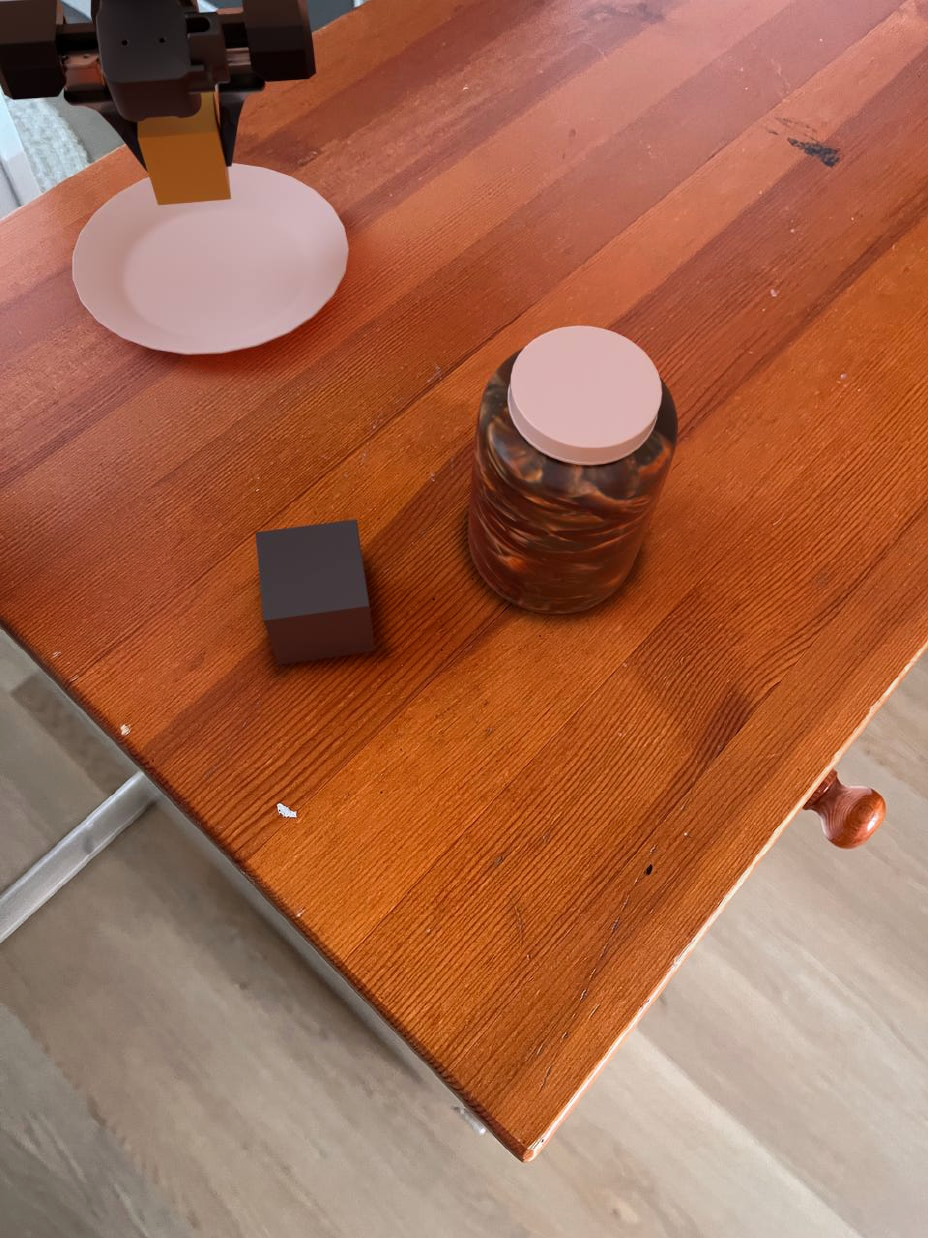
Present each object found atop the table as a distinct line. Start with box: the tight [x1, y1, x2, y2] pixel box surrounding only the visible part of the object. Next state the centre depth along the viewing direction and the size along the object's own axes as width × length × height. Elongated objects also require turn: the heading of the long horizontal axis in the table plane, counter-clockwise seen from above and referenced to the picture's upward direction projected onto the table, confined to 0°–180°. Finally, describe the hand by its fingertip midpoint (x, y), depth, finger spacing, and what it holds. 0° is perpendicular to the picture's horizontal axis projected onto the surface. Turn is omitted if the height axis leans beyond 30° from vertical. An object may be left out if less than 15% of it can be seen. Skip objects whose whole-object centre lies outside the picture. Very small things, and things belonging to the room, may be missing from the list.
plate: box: [72, 162, 350, 356], centre depth 70 cm, size 21×21×2 cm
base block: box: [255, 518, 376, 666], centre depth 55 cm, size 6×6×6 cm
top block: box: [137, 92, 231, 205], centre depth 61 cm, size 5×5×5 cm
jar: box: [467, 325, 679, 615], centre depth 54 cm, size 12×12×15 cm
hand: (189, 166), depth 63 cm, fingers closed on top block, 5 cm apart
